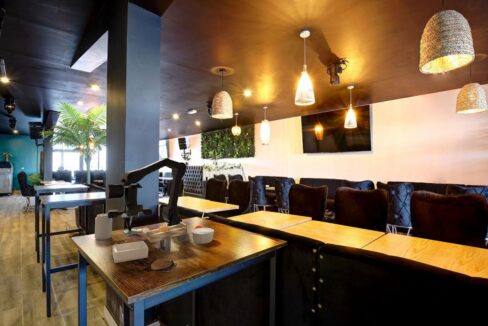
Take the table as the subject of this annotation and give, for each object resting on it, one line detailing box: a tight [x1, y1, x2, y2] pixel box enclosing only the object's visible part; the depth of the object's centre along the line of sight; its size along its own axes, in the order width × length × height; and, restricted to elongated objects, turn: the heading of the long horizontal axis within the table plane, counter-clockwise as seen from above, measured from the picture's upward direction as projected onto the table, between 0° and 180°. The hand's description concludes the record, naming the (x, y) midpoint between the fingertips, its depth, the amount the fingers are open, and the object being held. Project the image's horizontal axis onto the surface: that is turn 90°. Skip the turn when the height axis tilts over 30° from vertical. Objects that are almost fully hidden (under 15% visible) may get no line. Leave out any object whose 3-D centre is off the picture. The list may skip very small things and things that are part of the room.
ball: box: [158, 225, 168, 233], centre depth 106 cm, size 4×4×4 cm
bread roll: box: [143, 258, 178, 273], centre depth 89 cm, size 11×9×4 cm
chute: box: [123, 221, 191, 244], centre depth 111 cm, size 24×24×6 cm
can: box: [94, 213, 113, 241], centre depth 122 cm, size 8×8×12 cm
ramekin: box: [191, 227, 215, 245], centre depth 121 cm, size 11×11×5 cm
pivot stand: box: [158, 236, 172, 255], centre depth 107 cm, size 2×11×7 cm, turn 33°
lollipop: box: [192, 211, 210, 230], centre depth 136 cm, size 6×10×12 cm, turn 110°
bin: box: [112, 240, 149, 264], centre depth 99 cm, size 12×10×4 cm
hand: (129, 230), depth 114 cm, fingers closed, pressing on chute
